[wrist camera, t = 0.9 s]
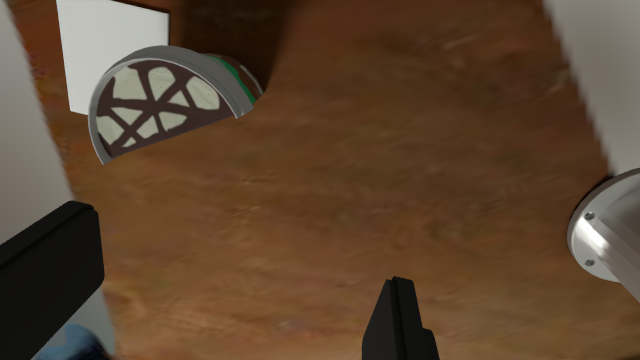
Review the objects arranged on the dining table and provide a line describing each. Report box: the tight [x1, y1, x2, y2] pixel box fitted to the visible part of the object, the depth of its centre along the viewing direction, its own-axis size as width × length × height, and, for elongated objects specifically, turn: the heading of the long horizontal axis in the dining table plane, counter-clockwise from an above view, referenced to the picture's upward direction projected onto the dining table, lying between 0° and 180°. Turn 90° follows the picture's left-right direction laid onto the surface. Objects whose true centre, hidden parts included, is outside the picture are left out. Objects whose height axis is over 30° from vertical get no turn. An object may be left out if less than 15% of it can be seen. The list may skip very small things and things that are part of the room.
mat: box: [56, 0, 169, 115], centre depth 32 cm, size 10×11×1 cm
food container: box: [88, 45, 264, 165], centre depth 27 cm, size 12×6×10 cm, turn 110°
